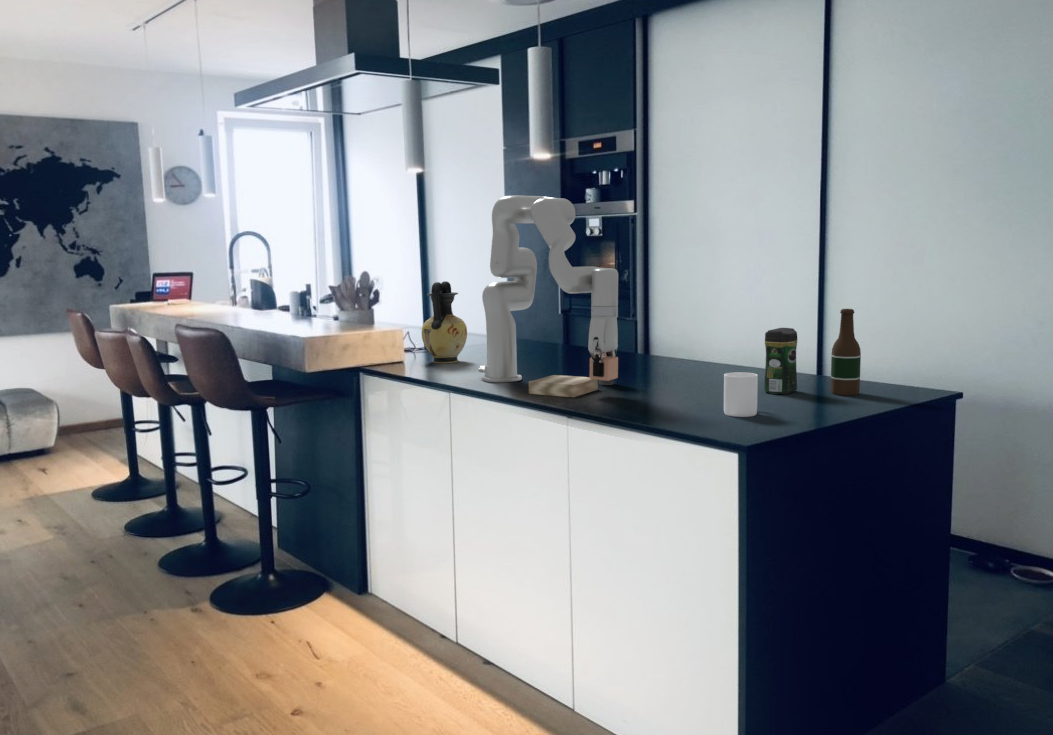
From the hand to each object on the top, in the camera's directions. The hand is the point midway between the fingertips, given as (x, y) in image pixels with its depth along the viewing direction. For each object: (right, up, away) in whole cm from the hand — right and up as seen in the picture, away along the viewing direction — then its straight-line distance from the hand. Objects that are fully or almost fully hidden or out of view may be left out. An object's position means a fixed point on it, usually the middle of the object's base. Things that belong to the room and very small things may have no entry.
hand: (603, 374), depth 265 cm
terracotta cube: (0, -1, 0) cm, 1 cm away
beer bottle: (+68, -6, -3) cm, 68 cm away
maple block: (-11, -6, +10) cm, 16 cm away
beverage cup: (+3, -3, +22) cm, 23 cm away
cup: (+33, -10, -28) cm, 45 cm away
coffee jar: (+51, -5, +2) cm, 51 cm away
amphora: (-53, +4, +81) cm, 97 cm away
